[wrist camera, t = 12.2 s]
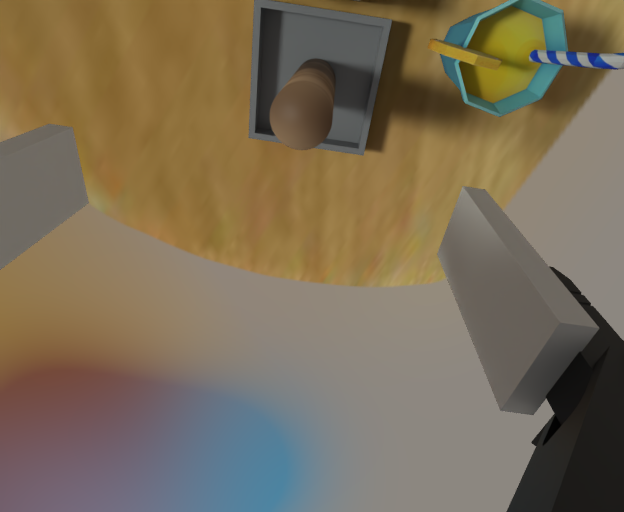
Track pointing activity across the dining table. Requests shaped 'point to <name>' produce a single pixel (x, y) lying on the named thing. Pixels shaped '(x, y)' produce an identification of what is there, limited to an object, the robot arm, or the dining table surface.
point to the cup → (511, 55)
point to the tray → (322, 45)
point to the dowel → (305, 106)
